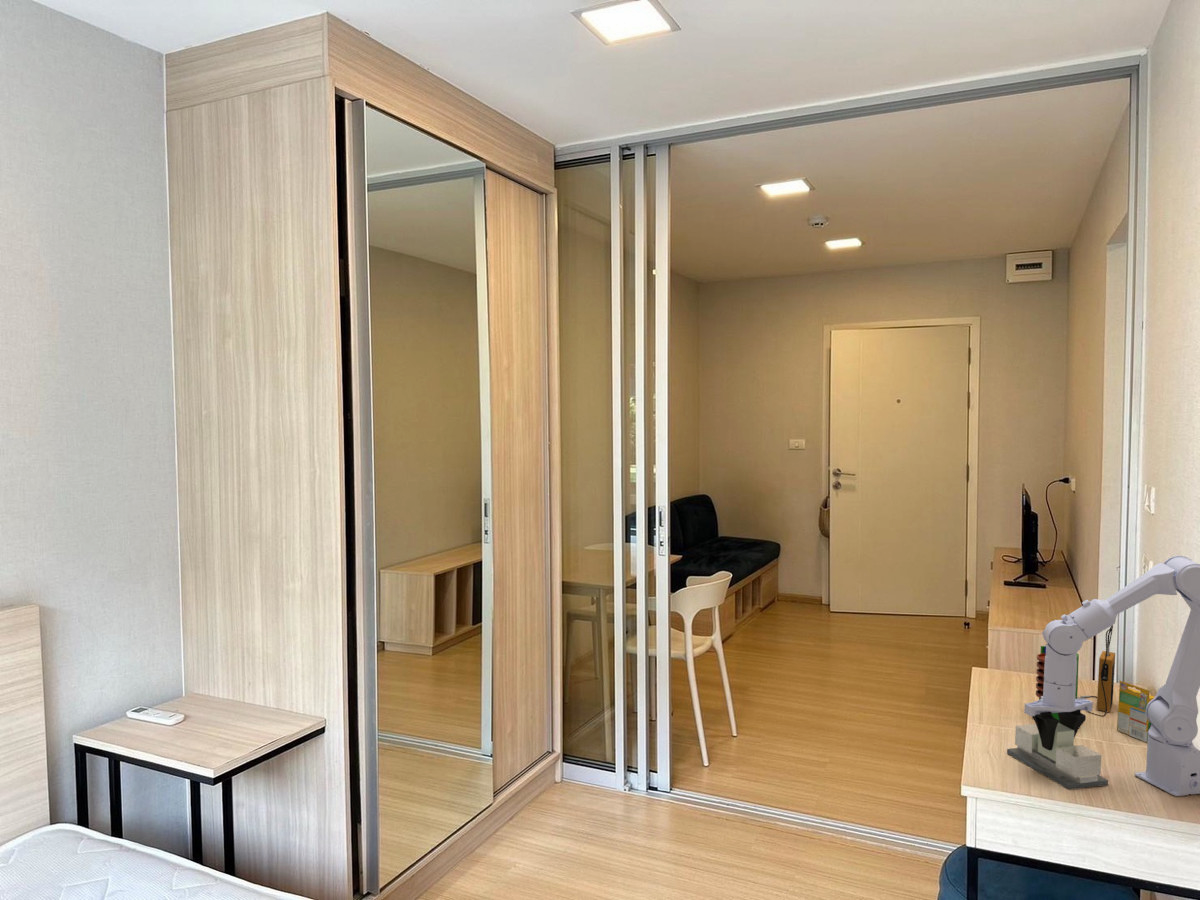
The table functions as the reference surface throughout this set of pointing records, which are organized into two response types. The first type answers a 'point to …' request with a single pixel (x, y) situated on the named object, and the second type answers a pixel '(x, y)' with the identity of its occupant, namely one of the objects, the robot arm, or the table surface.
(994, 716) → the table surface
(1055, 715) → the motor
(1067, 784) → the rail board
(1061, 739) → the block
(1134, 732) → the crayon box
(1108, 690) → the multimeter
